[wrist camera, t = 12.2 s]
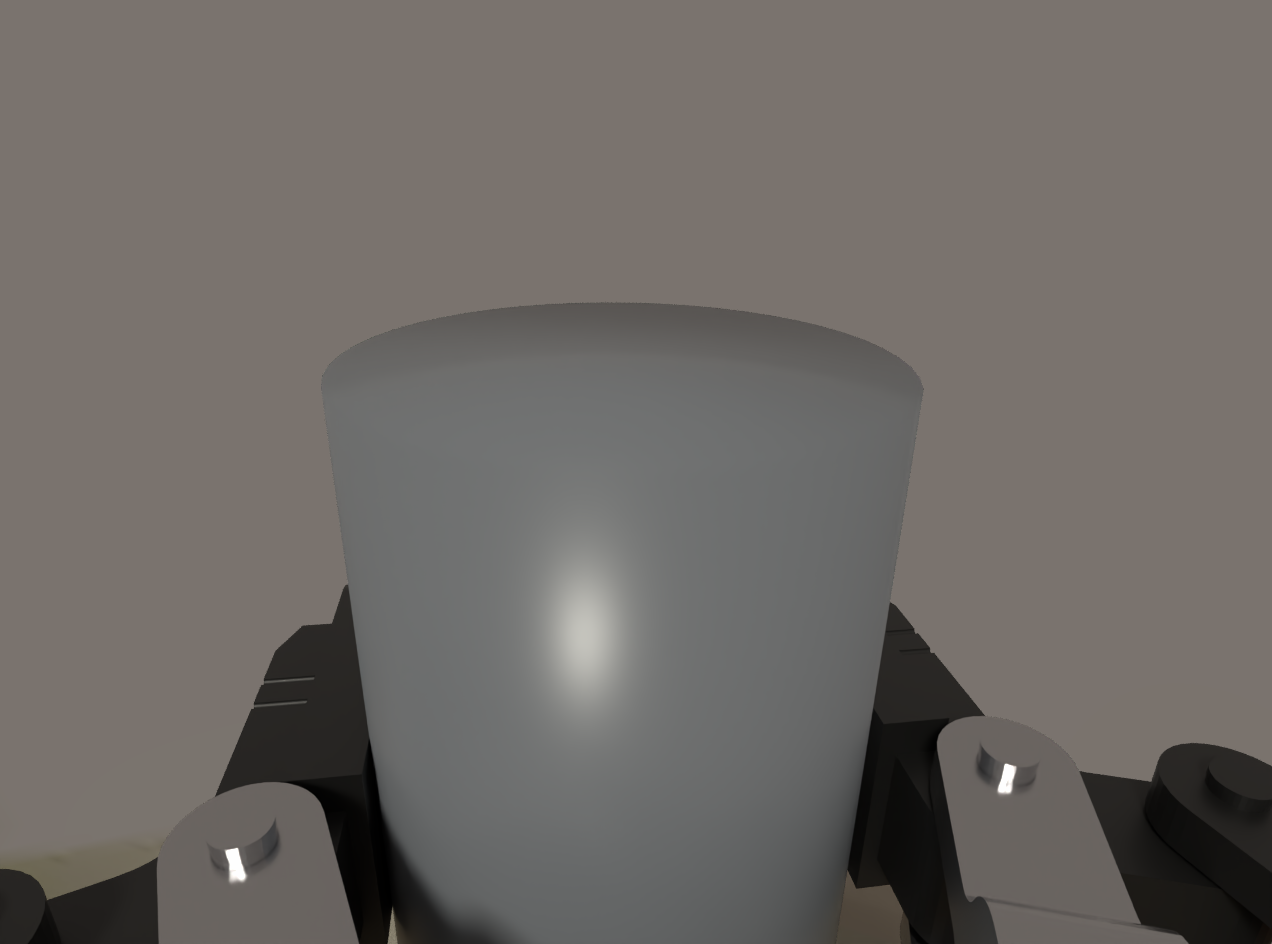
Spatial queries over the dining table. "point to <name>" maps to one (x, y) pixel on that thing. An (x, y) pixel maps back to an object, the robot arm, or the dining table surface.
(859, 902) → the dining table surface
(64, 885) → the dining table surface
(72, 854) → the dining table surface
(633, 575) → the grey capsule cylinder
